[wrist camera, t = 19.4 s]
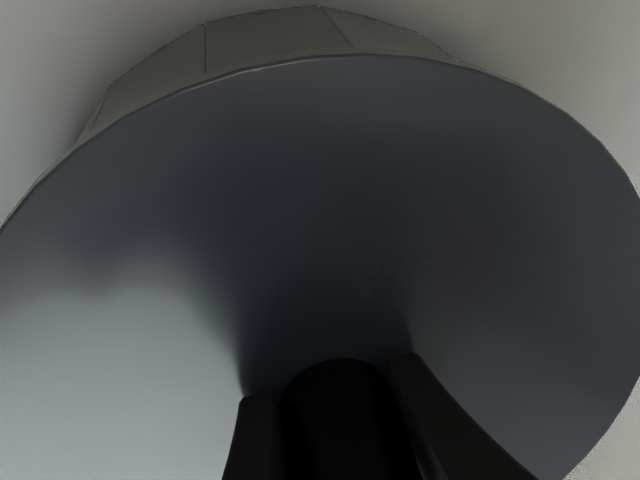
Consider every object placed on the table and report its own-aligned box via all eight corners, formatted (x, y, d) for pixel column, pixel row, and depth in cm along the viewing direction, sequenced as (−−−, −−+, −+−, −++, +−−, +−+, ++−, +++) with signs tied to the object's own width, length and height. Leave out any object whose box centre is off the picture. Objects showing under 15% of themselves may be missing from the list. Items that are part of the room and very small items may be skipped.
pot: (44, 387, 20) (-11, 561, 15) (79, -64, 13) (4, -24, 8) (422, 418, 23) (481, 566, 18) (590, 77, 17) (749, 161, 12)
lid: (-199, 164, 10) (-456, 348, 6) (660, -60, 10) (932, -19, 6) (135, 606, 18) (115, 808, 14) (612, 473, 18) (721, 634, 14)
